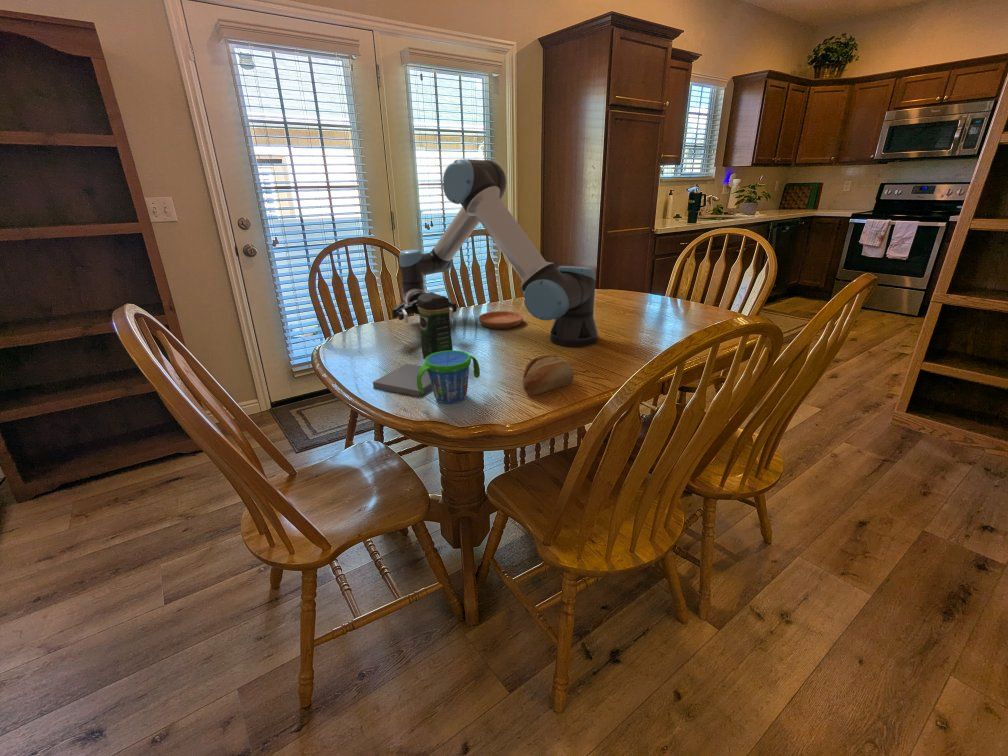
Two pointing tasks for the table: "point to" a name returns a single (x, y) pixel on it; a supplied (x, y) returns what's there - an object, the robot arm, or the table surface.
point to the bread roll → (546, 374)
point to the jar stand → (404, 380)
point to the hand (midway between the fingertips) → (429, 316)
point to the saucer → (501, 319)
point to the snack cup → (448, 374)
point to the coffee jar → (434, 323)
